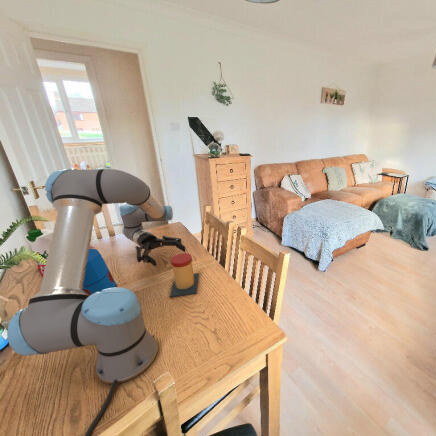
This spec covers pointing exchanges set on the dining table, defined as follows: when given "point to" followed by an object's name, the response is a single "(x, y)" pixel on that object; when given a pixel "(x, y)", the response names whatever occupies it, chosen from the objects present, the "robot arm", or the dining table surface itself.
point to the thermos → (97, 274)
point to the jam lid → (181, 260)
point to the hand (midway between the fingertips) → (170, 256)
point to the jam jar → (183, 276)
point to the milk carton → (40, 241)
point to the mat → (188, 291)
